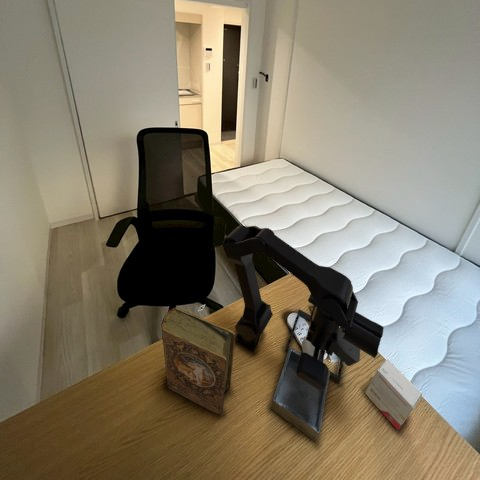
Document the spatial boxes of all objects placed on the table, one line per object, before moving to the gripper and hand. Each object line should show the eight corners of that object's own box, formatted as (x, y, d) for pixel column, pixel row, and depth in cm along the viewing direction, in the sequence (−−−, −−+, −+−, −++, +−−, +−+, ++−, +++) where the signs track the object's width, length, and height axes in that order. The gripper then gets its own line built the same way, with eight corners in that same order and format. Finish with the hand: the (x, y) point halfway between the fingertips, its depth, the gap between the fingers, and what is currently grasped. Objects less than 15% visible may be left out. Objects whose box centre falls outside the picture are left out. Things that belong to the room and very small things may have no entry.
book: (164, 385, 64) (157, 327, 53) (175, 362, 68) (171, 305, 58) (221, 416, 59) (226, 359, 49) (229, 389, 64) (236, 332, 53)
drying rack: (284, 351, 73) (286, 343, 71) (297, 312, 84) (299, 305, 82) (338, 384, 67) (342, 376, 65) (345, 338, 78) (348, 330, 76)
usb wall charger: (316, 347, 66) (319, 338, 64) (321, 378, 59) (325, 370, 58) (301, 345, 66) (304, 336, 64) (305, 376, 60) (308, 367, 58)
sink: (270, 408, 61) (272, 399, 59) (287, 355, 72) (289, 346, 70) (315, 441, 56) (319, 433, 55) (326, 380, 67) (330, 371, 65)
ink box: (406, 417, 62) (425, 394, 57) (396, 432, 59) (415, 409, 54) (373, 380, 68) (387, 357, 63) (363, 392, 65) (377, 369, 60)
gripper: (361, 388, 45) (339, 425, 51) (365, 304, 60) (348, 341, 67) (301, 353, 49) (289, 391, 56) (320, 283, 64) (308, 320, 71)
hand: (311, 358), depth 62 cm, fingers closed on usb wall charger, 7 cm apart
